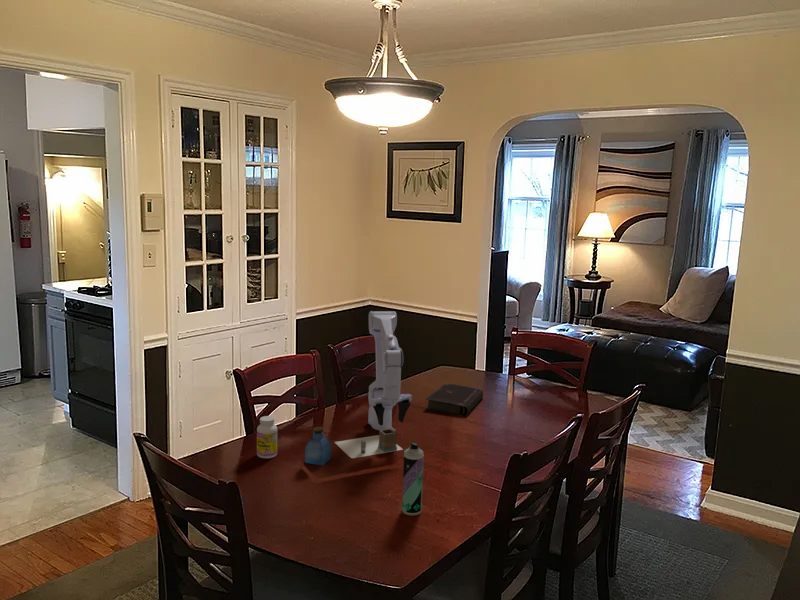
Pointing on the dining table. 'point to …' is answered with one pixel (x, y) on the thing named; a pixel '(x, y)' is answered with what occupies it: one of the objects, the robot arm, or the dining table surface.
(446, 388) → the diary
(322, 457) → the perfume bottle
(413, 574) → the dining table surface
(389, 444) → the walnut sleeve
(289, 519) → the dining table surface
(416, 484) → the spray can
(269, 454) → the supplement bottle
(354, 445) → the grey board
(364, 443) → the steel pin
